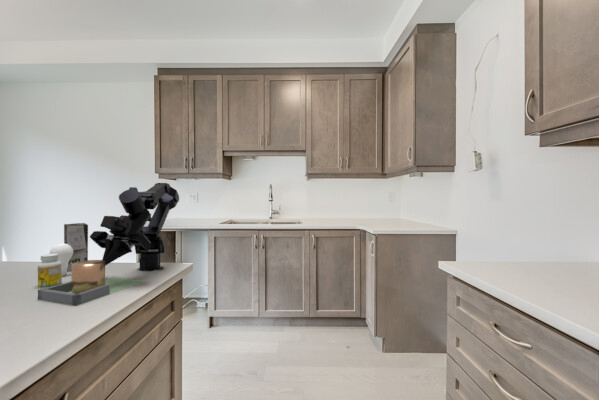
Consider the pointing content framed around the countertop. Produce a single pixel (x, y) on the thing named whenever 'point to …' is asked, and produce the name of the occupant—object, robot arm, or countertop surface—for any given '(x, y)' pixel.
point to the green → (117, 285)
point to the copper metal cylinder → (87, 275)
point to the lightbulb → (63, 255)
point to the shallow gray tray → (71, 294)
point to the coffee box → (76, 242)
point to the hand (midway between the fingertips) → (103, 264)
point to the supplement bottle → (49, 271)
